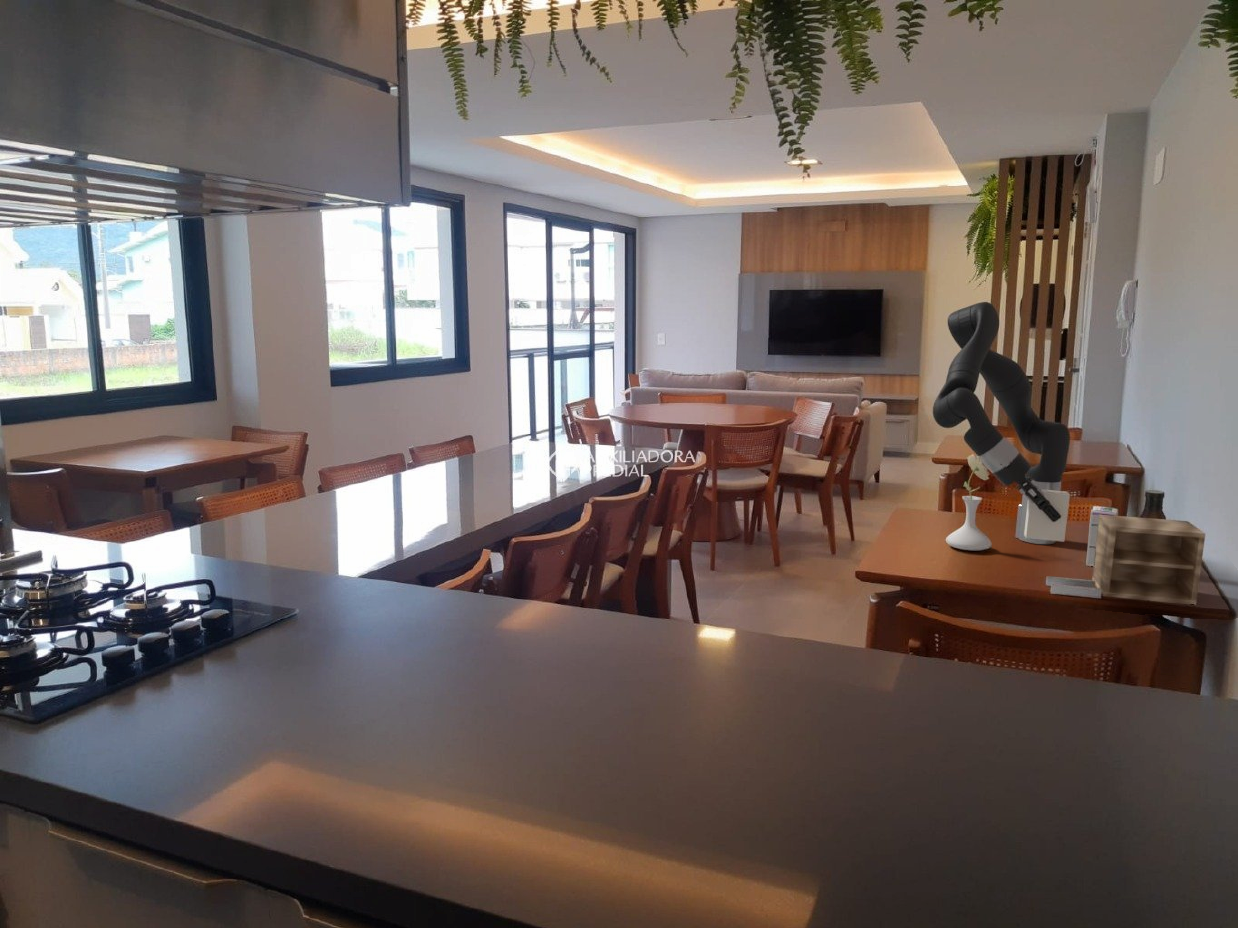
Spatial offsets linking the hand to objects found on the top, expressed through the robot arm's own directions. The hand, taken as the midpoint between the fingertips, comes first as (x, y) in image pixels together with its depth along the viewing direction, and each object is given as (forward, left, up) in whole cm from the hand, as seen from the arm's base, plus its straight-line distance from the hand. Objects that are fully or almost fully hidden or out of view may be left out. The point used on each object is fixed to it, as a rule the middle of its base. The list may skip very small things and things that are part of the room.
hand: (1055, 517), depth 202 cm
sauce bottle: (+3, +33, -16) cm, 37 cm away
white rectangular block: (-2, -1, -5) cm, 5 cm away
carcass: (+13, +14, -16) cm, 25 cm away
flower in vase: (-31, +9, -16) cm, 36 cm away
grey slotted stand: (+6, 0, -16) cm, 17 cm away
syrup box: (-5, +26, -16) cm, 31 cm away
